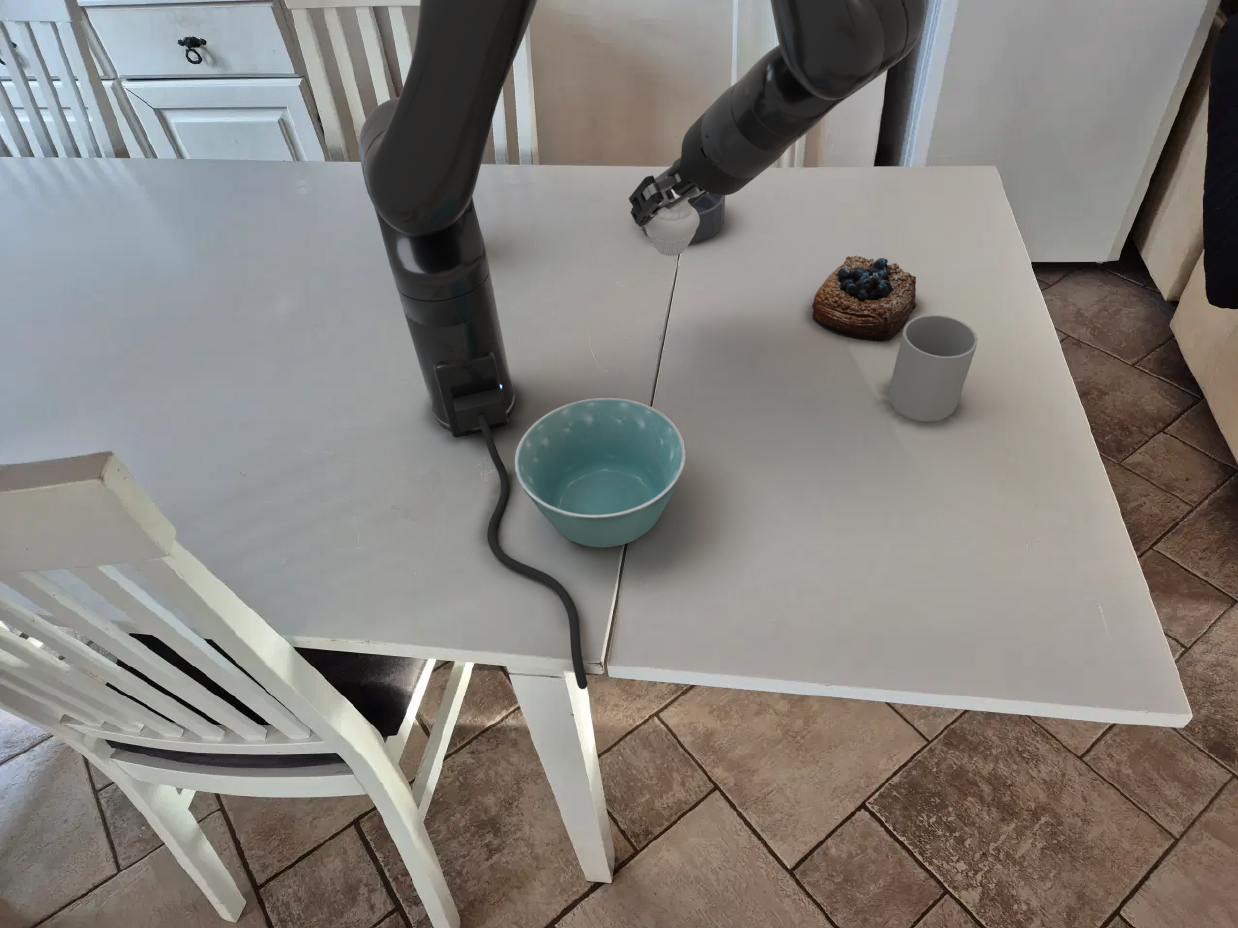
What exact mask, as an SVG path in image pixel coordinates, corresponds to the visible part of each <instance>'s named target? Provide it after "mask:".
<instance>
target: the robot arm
mask: <svg viewBox="0 0 1238 928" xmlns="http://www.w3.org/2000/svg"><path fill="white" fill-rule="evenodd" d="M769 1H770V6H771V11H772V16H773V21H774V27H775V32H776V37H777V41H778V45H776V46H774V47H773V48H772V49H771V50H769V51H768V52H766V53H765V54H764V55H763V56H762V57H761V58H759V60H757V61H756V63H754V64H753V66H751V67H750V68H749V70H748V71H746V72H745V74H744V75H743V76H742V77H741V78H740V79H739V80H737V82H735V83H734V84H733V85H731V86H730V87H728V88H727V89H726V90H725V91H724V92H722V94H721V95H719V96H718V98H717V99H716V100H715V101H714V102H712V104H711V105H710V106H709V107H708V108H707V109H706V110H705V111H704V112H703V113H702V115H700V117H698V118H697V120H695V122H694V123H692V125H691V126H690V127H689V128H688V129H687V131H686V133H685V134H684V137H683V139H682V143H681V153H680V154H681V155H680V157H678V158H677V159H676V160H674V161H673V163H672V166H669V168H668V169H666V170H664V172H662V173H660V174H659V175H658V176H656V177H654V175H648V176H646V177H645V178H644V179H643V180H641V182H640V183H639V184H638V186H636V188H635V190H634V191H633V192H632V193H631V194H630V196H629V197H628V200H629V203H630V204H631V206H632V207H631V210H630V214H631V216H632V218H633V221H634V223H635V225H638V226H639V227H640V228H642V226H644V225H646V224H647V223H648V222H650V221H651V220H652V219H653V218H654V217H655V216H657V215H658V214H659V213H660V212H662V211H663V210H665V209H673V208H676V207H678V206H679V205H681V204H682V203H684V202H685V201H687V200H688V203H689V204H690V206H691V205H694V204H695V203H696V202H697V201H698V200H700V199H701V198H702V197H703V196H704V195H706V194H708V193H711V194H714V195H721V196H724V195H725V196H729V195H733V194H735V193H738V192H739V191H741V189H743V188H744V187H746V185H748V184H749V183H750V182H751V181H753V180H754V179H755V178H756V177H758V176H759V175H760V174H762V173H764V171H765V170H767V169H768V168H769V167H770V166H772V165H773V164H774V163H776V162H777V161H778V160H779V159H780V158H781V157H782V156H783V155H784V154H785V152H786V151H787V150H788V149H789V148H790V147H791V146H792V145H794V144H795V143H796V142H797V141H799V139H801V138H802V137H803V136H805V135H806V134H807V133H809V132H810V131H811V130H812V129H813V128H814V127H815V126H817V124H819V122H820V121H822V119H823V118H824V117H825V116H827V114H829V113H830V112H831V111H832V110H833V109H835V107H837V106H838V105H839V104H841V103H842V102H843V101H845V100H846V99H848V98H849V97H851V96H852V95H854V94H855V93H857V92H858V91H860V90H861V89H862V88H864V87H866V86H867V85H869V83H871V82H872V81H874V80H875V79H877V78H878V77H879V76H881V75H882V74H883V73H885V72H886V71H888V70H889V69H890V68H892V67H893V66H895V65H896V64H897V63H899V62H901V61H902V60H903V59H904V58H905V57H906V56H907V55H908V54H909V53H910V52H911V51H912V49H913V48H914V47H915V45H916V44H917V42H918V40H919V38H920V36H921V34H922V31H923V28H924V26H925V21H926V15H927V0H769ZM537 3H538V0H419V9H418V20H417V27H416V37H415V43H414V49H413V53H412V58H411V60H410V61H411V62H410V65H409V68H408V70H407V71H408V72H407V75H406V78H405V81H404V84H403V85H402V88H401V89H402V90H401V92H400V94H399V96H398V97H394V98H391V99H388V100H385V101H384V102H382V103H381V104H379V105H378V106H376V107H375V108H374V109H373V110H372V111H371V112H370V113H369V115H368V116H367V117H366V118H365V120H364V123H363V125H362V127H361V130H360V133H359V138H358V155H359V160H360V166H361V171H362V175H363V180H364V186H365V188H366V193H367V194H368V197H369V199H370V201H371V203H372V205H373V207H374V211H375V214H376V217H377V221H378V225H379V229H380V233H381V237H382V240H383V244H384V248H385V251H386V255H387V260H388V263H389V266H390V269H391V272H392V276H393V279H394V284H395V286H396V289H397V293H398V296H399V300H400V303H401V306H402V310H403V313H404V317H405V321H406V323H407V328H408V331H409V334H410V338H411V341H412V345H413V347H414V351H415V354H416V358H417V360H418V364H419V367H420V368H419V369H420V371H421V375H422V378H423V381H424V385H425V387H426V388H425V389H426V391H427V395H428V398H429V401H430V404H431V405H430V406H431V411H432V414H433V417H434V419H435V421H436V422H437V423H438V424H439V425H440V426H442V427H443V428H445V429H447V430H450V431H451V435H452V436H453V437H457V436H463V435H467V434H473V433H475V432H480V431H481V433H482V436H483V438H484V441H485V444H486V447H487V449H488V452H489V454H490V458H491V461H492V462H493V465H494V466H495V468H496V471H497V474H498V476H499V480H500V492H499V493H500V494H499V498H498V501H497V503H496V506H495V508H494V511H493V512H492V515H491V517H490V520H489V523H488V526H487V531H486V532H487V533H486V536H487V543H488V546H489V548H490V550H491V552H492V554H493V555H494V556H495V557H496V559H497V560H498V561H499V562H501V563H502V564H503V565H504V566H506V567H508V568H509V569H511V570H514V571H515V572H518V573H520V574H523V575H524V576H527V577H529V578H532V579H534V580H536V581H539V582H541V583H542V584H544V585H546V586H547V587H549V588H550V589H551V590H553V592H555V593H556V594H557V596H558V597H559V599H560V600H561V602H562V604H563V606H564V608H565V611H566V613H567V617H568V622H569V623H568V624H569V625H568V626H569V639H570V641H569V642H570V653H571V661H572V667H573V672H574V678H575V681H576V685H577V687H578V688H579V689H580V690H585V689H587V688H588V684H589V682H588V679H587V675H586V671H585V665H584V660H583V653H582V641H581V627H580V619H579V614H578V610H577V607H576V605H575V601H574V600H573V598H572V597H571V595H570V594H569V592H568V591H567V590H566V588H565V587H564V586H563V585H562V584H561V583H560V582H559V581H558V580H557V579H555V578H554V577H552V576H551V575H550V574H547V573H545V572H544V571H542V570H539V569H538V568H537V569H536V568H534V567H532V566H529V565H527V564H525V563H522V562H520V561H518V560H515V559H514V558H512V557H510V556H509V555H508V554H506V553H505V551H504V550H502V548H501V546H500V544H499V542H498V539H497V529H498V526H499V523H500V520H501V518H502V515H503V514H504V511H505V509H506V505H507V503H508V499H509V494H510V481H509V480H510V479H509V475H508V471H507V469H506V466H505V464H504V462H503V460H502V458H501V455H500V453H499V450H498V448H497V445H496V442H495V439H494V437H493V434H492V431H491V429H493V428H497V427H501V426H505V425H508V423H509V420H508V417H509V415H511V413H512V411H513V410H514V409H515V408H514V407H515V405H516V393H515V389H514V387H513V384H512V383H513V382H512V378H511V373H510V368H509V363H508V359H507V354H506V349H505V348H506V347H505V342H504V338H503V332H502V327H501V323H500V317H499V311H498V307H497V303H496V302H497V301H496V297H495V291H494V286H493V281H492V276H491V270H490V265H489V260H488V255H487V254H488V253H487V250H486V244H485V241H484V237H483V234H482V230H481V227H480V223H479V218H478V215H477V210H476V207H475V203H474V197H473V196H474V193H475V189H476V185H477V181H478V179H479V173H480V169H481V166H482V162H483V157H484V154H485V150H486V147H487V146H486V145H487V142H488V139H489V134H490V130H491V126H492V123H493V118H494V115H495V112H496V108H497V105H498V102H499V99H500V96H501V93H502V91H503V87H504V85H505V82H506V80H507V78H508V75H509V72H510V70H511V69H512V65H513V63H514V61H515V59H516V56H517V54H518V51H519V49H520V47H521V44H522V42H523V39H524V37H525V34H526V32H527V29H528V27H529V25H530V21H531V20H532V19H531V18H532V16H533V14H534V11H535V8H536V6H537ZM671 188H672V189H673V191H674V192H675V193H676V194H677V195H679V196H680V197H678V198H677V199H676V198H675V197H674V195H673V193H672V191H671ZM660 203H661V204H660ZM659 204H660V205H659ZM658 205H659V206H658Z"/></svg>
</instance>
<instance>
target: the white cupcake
mask: <svg viewBox="0 0 1238 928" xmlns="http://www.w3.org/2000/svg"><path fill="white" fill-rule="evenodd" d="M671 191H672V193H673V195H674V197H675V198H676V199H677V198H678V197H680V196H679V195H677V194H676V193H675V192H674V191H673V189H672V190H671ZM660 204H661V203H660ZM660 204H659V205H660ZM659 205H658V206H659ZM699 222H700V218H699V215H698V213H697V211H696V210H695V209H694V208H693V207H692V206H690V204H689V203H688V200H687V201H685V202H684V203H682V204H681V205H679V206H678V207H676V208H673V209H665V210H663V211H662V212H660V213H659V214H658V215H657V216H655V217H654V218H653V219H652V220H651V221H650V222H648V223H647V224H646V225H644V226H645V228H646V231H647V233H646V235H647V236H648V238H649V240H650V242H651V243H652V244H653V246H654V248H655V249H656V251H657V252H658V253H659V254H661V255H663V256H667V257H675V256H678V255H681V254H683V253H684V252H685V251H686V249H687V248H688V247H689V245H690V243H691V242H690V241H691V240H692V238H693V236H694V235H695V233H696V232H695V231H696V229H697V227H698V225H699Z"/></svg>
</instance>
